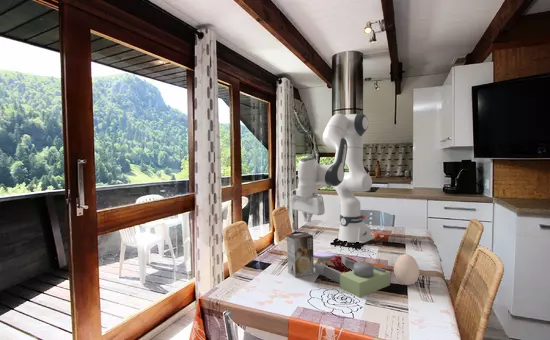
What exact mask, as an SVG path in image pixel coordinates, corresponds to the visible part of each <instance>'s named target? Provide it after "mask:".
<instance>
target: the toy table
mask: <svg viewBox="0 0 550 340" xmlns="http://www.w3.org/2000/svg"><path fill="white" fill-rule="evenodd" d="M335 257H336V253H335V252H331V251H317V252H316V251H315V252H313V258H314V259H317V260H316V261H315V262H314V268H315V264H316V263H318V264H323V265H326V266H328V265H334V264H335V263H334V262H332V261H331V259H332V258H335ZM334 266H335V265H334Z"/></svg>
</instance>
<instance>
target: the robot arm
mask: <svg viewBox="0 0 550 340" xmlns="http://www.w3.org/2000/svg"><path fill="white" fill-rule="evenodd" d="M368 127H369V119H368V117H367V115H365V114H363V113H348V114H342V113H335V114H334V115H332V117H330V119H329V121H328V122H327V124H326V126H325V128H324V131H323V133H322V141H323V144H324V145H325V146H326V147H327V148H329V149H331V150H334V151H335V155H334V160H333V162H332V163H330V164H320V163H318V162H317V161H316V158H315V157H310V156H309V157H304V158H303V157H302V158H301V159H300V160H299V162H298V167H297V178H298V184H297V188H295V189H293V190H291V192H290V193H291V208H292V210H295V211H298V212H299V211H300V212H302V213H301V214H302V217H303V220H304V222H306V223H311V222H312V220H311V219H312V217H313V215H315V216H322V215H324V214H325V213H326V212H325V202H324V198H323V195H322V194H320V193H318V185H322V186H323V185H324V186H331V187H332V188H333V189H334V190H335V191H336V194H337V195H338V198H339V202H340V215H339V221H340V222H339V227H338V228H339V230H338V234H337V239H338V240H339V241H342V242H344V241H347V242H346V243H356V242H359V244H360V243H361V244H365V243H368V242H369V241H371V240H374V239H375V238H376V236H375V235H374V234H373V233H372V232H371V231H372V229H371V228H370V226H369V225H367V224H366V223H365V222H364V221H363V220H365V219H366V215H361V201H360V200H359V199H358V198H357V197H356V195H354V193H363V192H364V193H365V192H369V191H370V190H371V188H372V186H373V179H372V177H371V176H370V175H369V173H367V171H366V169H365V167H364V163H363V155H364V153H363V151H364V138H363V137H364V134H365V132H366V131H367V130H368ZM345 165H346V166H347V167H348V171H345Z"/></svg>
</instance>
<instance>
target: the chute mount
mask: <svg viewBox="0 0 550 340" xmlns="http://www.w3.org/2000/svg"><path fill="white" fill-rule="evenodd" d="M342 263H343V264H344V265H345V266H346V267H348V268H350V269H351V270H354V264H355V263H358V262H357V261H354V260H352V259H349V258H347V257H346V256H344V255H341V264H342ZM351 270H350V271H351ZM343 273H344V272H342V271H339V270H338V269H337V270H336V269H334V268H333V267H328V265H327V264H326V265H322V263H320V264H318V263H316V264H315V267H314V274H316V275H320V276H324V277H326V278H328V279H330V280H331V281H334V282H335V283H338V284H340V274H343Z"/></svg>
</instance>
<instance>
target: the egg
mask: <svg viewBox="0 0 550 340" xmlns="http://www.w3.org/2000/svg"><path fill="white" fill-rule="evenodd" d="M393 273H394V276H395V278H396V279H397V281H398V282H399V283H400V284H402V285H405V286H411V285H413V284H415V283H417V282H418V279H419V277H420V267H419V264H418V262H417V260H416V259H415V258H414V257H413V255H410V254H409V253H403V254H401V255H399V256H397V258H396V260H395V263H394V265H393Z"/></svg>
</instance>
